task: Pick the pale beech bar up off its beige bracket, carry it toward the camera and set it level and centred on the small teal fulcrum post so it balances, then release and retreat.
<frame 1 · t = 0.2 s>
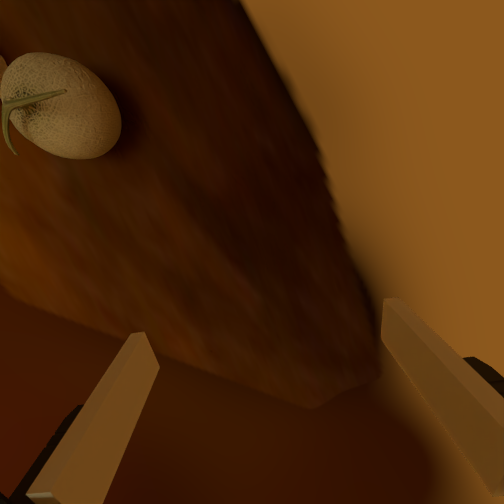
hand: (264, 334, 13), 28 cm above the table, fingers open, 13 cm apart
fruit: (97, 121, 33), on the table
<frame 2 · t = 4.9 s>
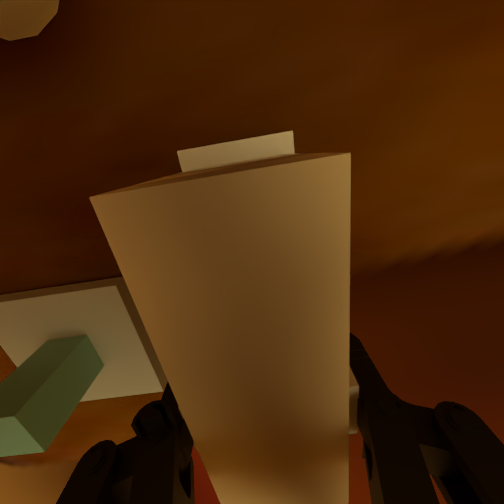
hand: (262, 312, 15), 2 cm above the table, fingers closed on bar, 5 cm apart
bar: (264, 341, 12), point 5 cm above the table, touching beige bracket, gripper
beige bracket: (261, 294, 17), on the table
fulcrum: (87, 341, 18), on the table
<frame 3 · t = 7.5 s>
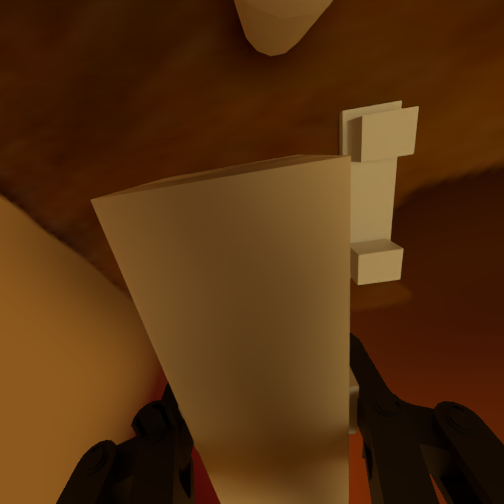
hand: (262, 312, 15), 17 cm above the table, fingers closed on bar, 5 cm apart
bar: (265, 342, 12), point 19 cm above the table, touching gripper
beige bracket: (364, 200, 29), on the table
foam cup: (273, 15, 22), on the table
when the fingers open (6 cm above the table, at t = 10.2 s): bar drops 1 cm, resting on fulcrum.
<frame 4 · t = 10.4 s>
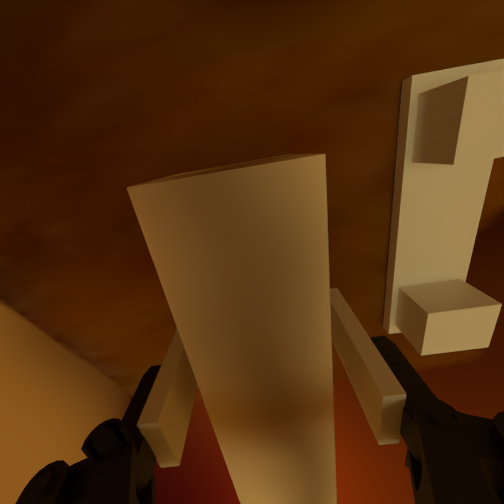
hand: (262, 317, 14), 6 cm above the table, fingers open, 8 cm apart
bar: (263, 322, 14), point 7 cm above the table, touching fulcrum
beige bracket: (428, 223, 18), on the table
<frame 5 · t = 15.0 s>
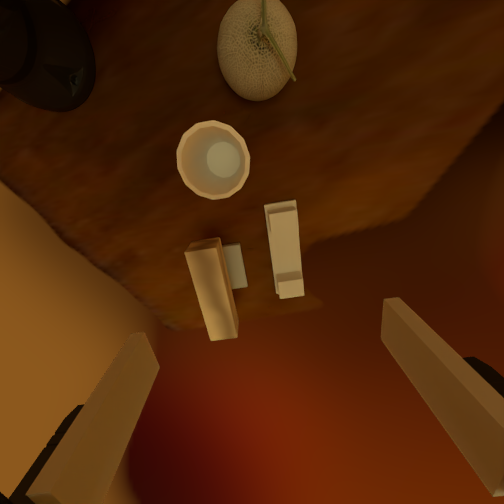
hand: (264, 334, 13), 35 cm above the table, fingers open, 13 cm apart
bar: (216, 283, 44), point 7 cm above the table, touching fulcrum
beige bracket: (284, 249, 48), on the table
foam cup: (223, 159, 42), on the table
fulcrum: (221, 267, 50), on the table
fruit: (258, 71, 37), on the table
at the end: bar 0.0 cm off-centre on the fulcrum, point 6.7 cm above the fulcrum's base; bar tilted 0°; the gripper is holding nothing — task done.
